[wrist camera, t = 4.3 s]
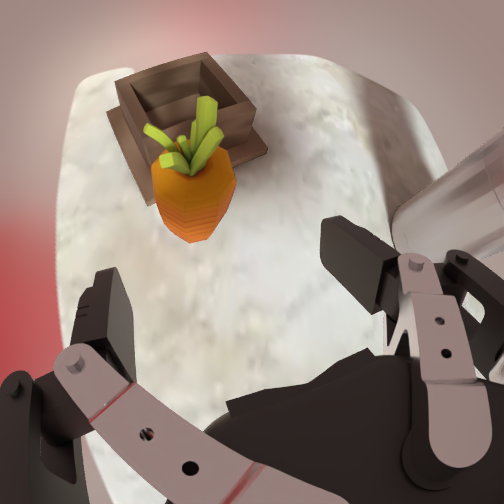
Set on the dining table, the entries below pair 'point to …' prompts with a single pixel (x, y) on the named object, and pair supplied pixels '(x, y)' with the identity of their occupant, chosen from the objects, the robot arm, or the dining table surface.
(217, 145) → the carrot
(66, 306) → the dining table surface
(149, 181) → the socket block
